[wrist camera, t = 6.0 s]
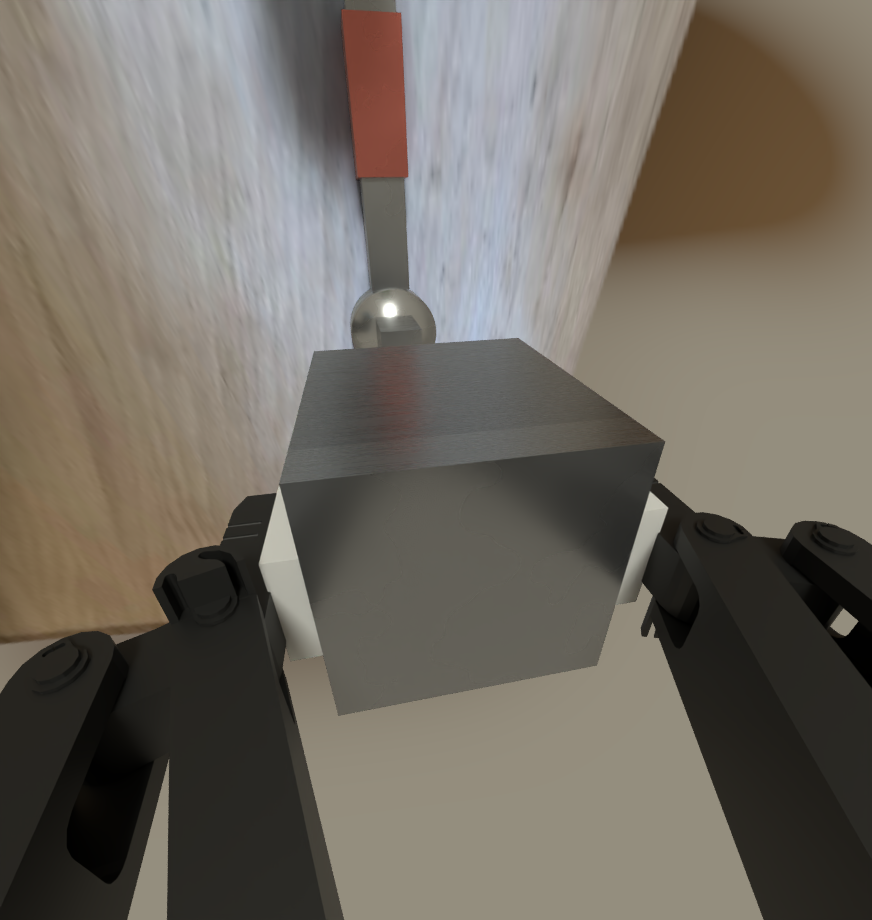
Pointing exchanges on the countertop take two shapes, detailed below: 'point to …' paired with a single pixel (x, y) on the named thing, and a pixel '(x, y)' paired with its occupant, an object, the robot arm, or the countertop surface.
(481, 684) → the brushed steel cube
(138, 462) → the countertop surface
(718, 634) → the robot arm
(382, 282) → the ratchet
